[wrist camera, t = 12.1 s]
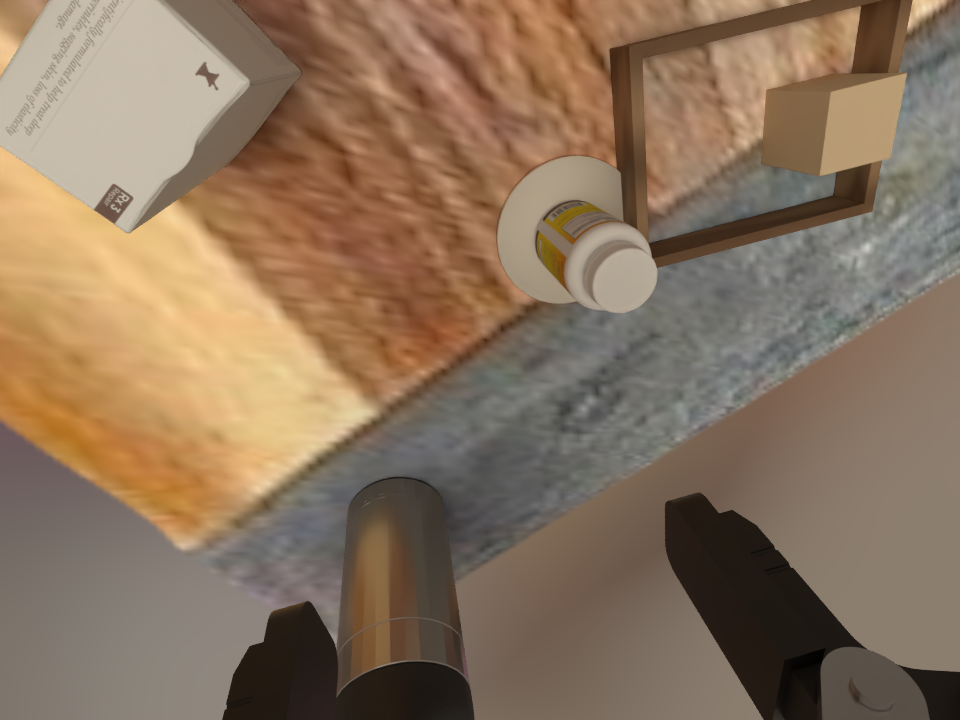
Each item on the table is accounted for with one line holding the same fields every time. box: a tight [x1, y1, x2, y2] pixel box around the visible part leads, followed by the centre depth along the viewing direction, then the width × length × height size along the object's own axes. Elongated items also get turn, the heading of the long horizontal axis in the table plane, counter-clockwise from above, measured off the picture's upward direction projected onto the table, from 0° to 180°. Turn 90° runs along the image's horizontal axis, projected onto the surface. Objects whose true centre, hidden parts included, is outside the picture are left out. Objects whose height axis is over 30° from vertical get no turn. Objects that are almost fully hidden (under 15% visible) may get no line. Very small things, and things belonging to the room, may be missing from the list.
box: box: [761, 73, 907, 176], centre depth 35 cm, size 5×5×6 cm
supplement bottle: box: [535, 200, 657, 313], centre depth 33 cm, size 6×6×10 cm
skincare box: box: [0, 0, 302, 233], centre depth 24 cm, size 8×6×15 cm
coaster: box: [496, 155, 624, 304], centre depth 38 cm, size 11×11×1 cm
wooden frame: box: [610, 0, 912, 268], centre depth 36 cm, size 15×19×3 cm
